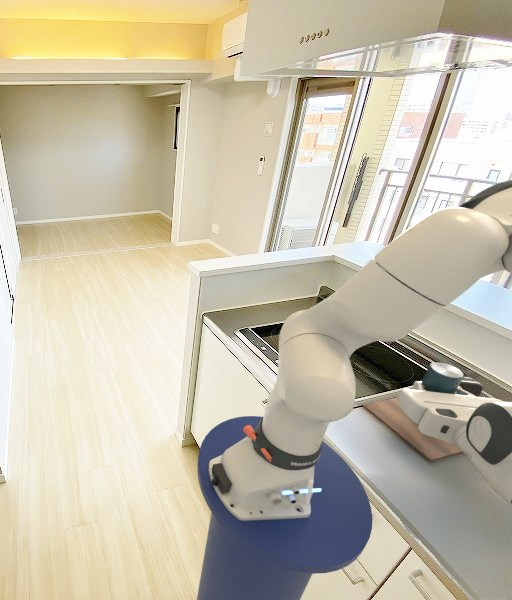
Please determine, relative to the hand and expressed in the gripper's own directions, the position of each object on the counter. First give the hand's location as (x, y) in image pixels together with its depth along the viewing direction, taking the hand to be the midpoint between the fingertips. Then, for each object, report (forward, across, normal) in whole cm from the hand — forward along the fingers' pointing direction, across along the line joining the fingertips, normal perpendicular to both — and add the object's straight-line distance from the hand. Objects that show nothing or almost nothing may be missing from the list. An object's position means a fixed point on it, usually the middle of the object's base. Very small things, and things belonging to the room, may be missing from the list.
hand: (434, 385), depth 81 cm
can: (-1, 0, +7) cm, 7 cm away
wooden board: (-1, 0, +13) cm, 13 cm away
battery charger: (+7, -11, +14) cm, 18 cm away
